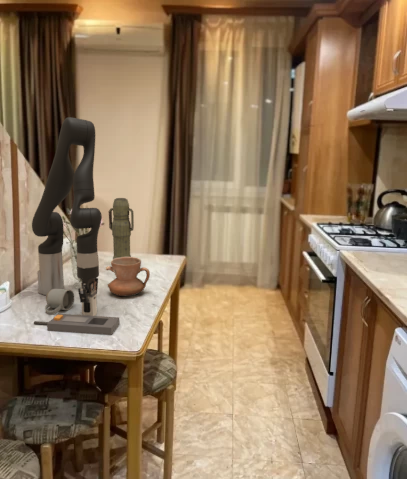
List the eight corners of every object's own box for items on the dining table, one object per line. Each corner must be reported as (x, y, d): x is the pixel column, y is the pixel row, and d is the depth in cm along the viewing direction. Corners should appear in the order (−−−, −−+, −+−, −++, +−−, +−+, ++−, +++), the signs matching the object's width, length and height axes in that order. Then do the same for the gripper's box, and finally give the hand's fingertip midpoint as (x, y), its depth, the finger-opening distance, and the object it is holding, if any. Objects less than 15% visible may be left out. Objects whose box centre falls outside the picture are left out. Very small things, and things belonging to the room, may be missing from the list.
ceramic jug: (102, 298, 186) (101, 264, 183) (110, 287, 200) (109, 255, 197) (147, 299, 185) (146, 265, 182) (152, 288, 199) (151, 256, 196)
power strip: (27, 329, 155) (26, 319, 155) (39, 318, 164) (39, 310, 163) (111, 334, 152) (111, 325, 151) (119, 324, 161) (119, 315, 160)
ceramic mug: (57, 303, 179) (55, 284, 178) (75, 306, 177) (74, 287, 175) (39, 313, 170) (38, 293, 168) (58, 316, 167) (57, 296, 165)
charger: (82, 317, 166) (81, 293, 164) (86, 313, 170) (85, 289, 168) (93, 317, 166) (92, 294, 164) (97, 313, 170) (96, 290, 168)
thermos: (112, 267, 230) (110, 197, 222) (135, 268, 229) (135, 197, 221) (107, 272, 221) (105, 199, 213) (132, 273, 220) (131, 200, 213)
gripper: (84, 258, 171) (86, 302, 175) (69, 269, 158) (71, 316, 161) (104, 259, 170) (105, 303, 174) (90, 270, 157) (92, 317, 160)
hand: (89, 309), depth 168 cm, fingers closed on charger, 4 cm apart
